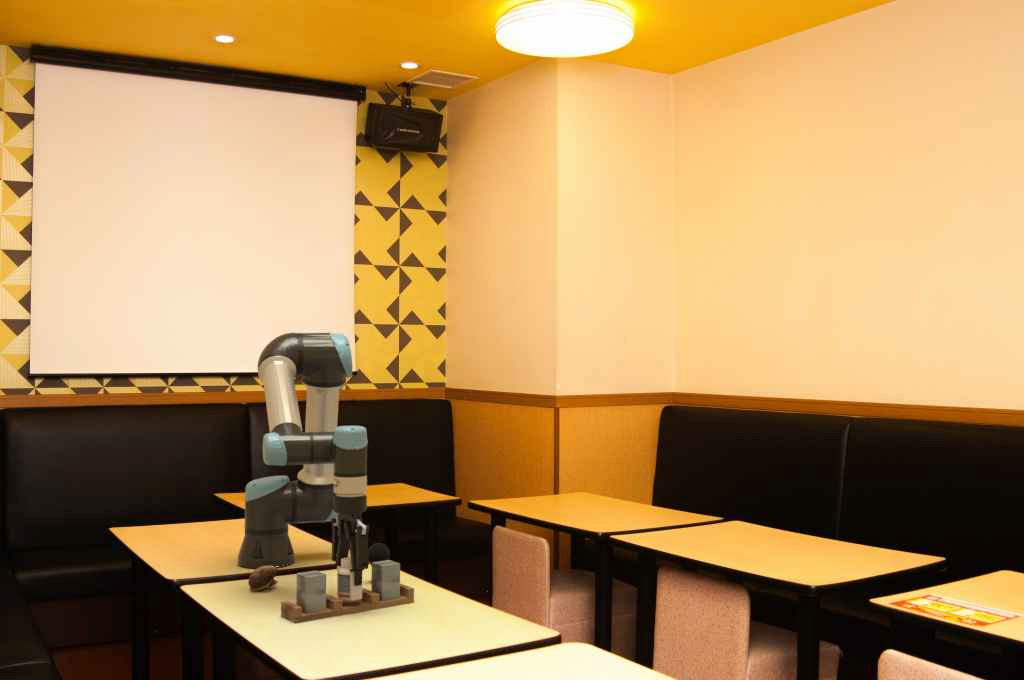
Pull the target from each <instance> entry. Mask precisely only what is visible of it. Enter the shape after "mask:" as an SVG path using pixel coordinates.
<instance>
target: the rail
mask: <svg viewBox="0 0 1024 680" xmlns="http://www.w3.org/2000/svg"><path fill="white" fill-rule="evenodd" d="M370 586H371V590H370V589H367V588H365V587H362V599H359V600H353V601H351V600H340V599H339V598H338V597H337V598H336V597H335V596H333V595H330V594H328V593H327V574H326V573H323V572H321V571H318V570H311V571H303V572H297V573H296V589H295V590H296V594H295V595H296V596H295V597H296V599H295V600H296V603H294V602H291V601H290V600H284V601H281V602H280V617H282V618H283V619H285V620H288V621H290V622H291V623H294V624H299V623H305V622H309V621H316V620H323V619H327V618H332V617H334V618H335V617H338V616H344V615H350V614H356V613H360V612H367V611H372V610H378V609H384V608H389V607H390V608H391V607H396V606H399V605H400V606H401V605H406V604H411V603H415V588H413V587H411V586H409V585H405V584H402V583H401V563H400V562H398V561H397V562H396V561H394V560H391V559H389V560H386V561H379V562H372V567H371V585H370Z"/></svg>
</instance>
